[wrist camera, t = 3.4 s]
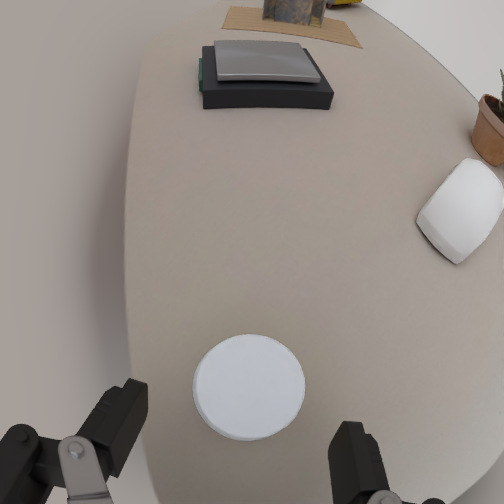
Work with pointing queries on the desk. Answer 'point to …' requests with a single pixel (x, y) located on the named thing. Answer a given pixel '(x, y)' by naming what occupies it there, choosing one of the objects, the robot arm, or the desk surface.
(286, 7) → the ruin model on sheet
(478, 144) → the potted plant
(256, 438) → the supplement bottle
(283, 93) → the scale
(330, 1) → the alarm clock
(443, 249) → the computer mouse
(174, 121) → the desk surface
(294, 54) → the scale pan
